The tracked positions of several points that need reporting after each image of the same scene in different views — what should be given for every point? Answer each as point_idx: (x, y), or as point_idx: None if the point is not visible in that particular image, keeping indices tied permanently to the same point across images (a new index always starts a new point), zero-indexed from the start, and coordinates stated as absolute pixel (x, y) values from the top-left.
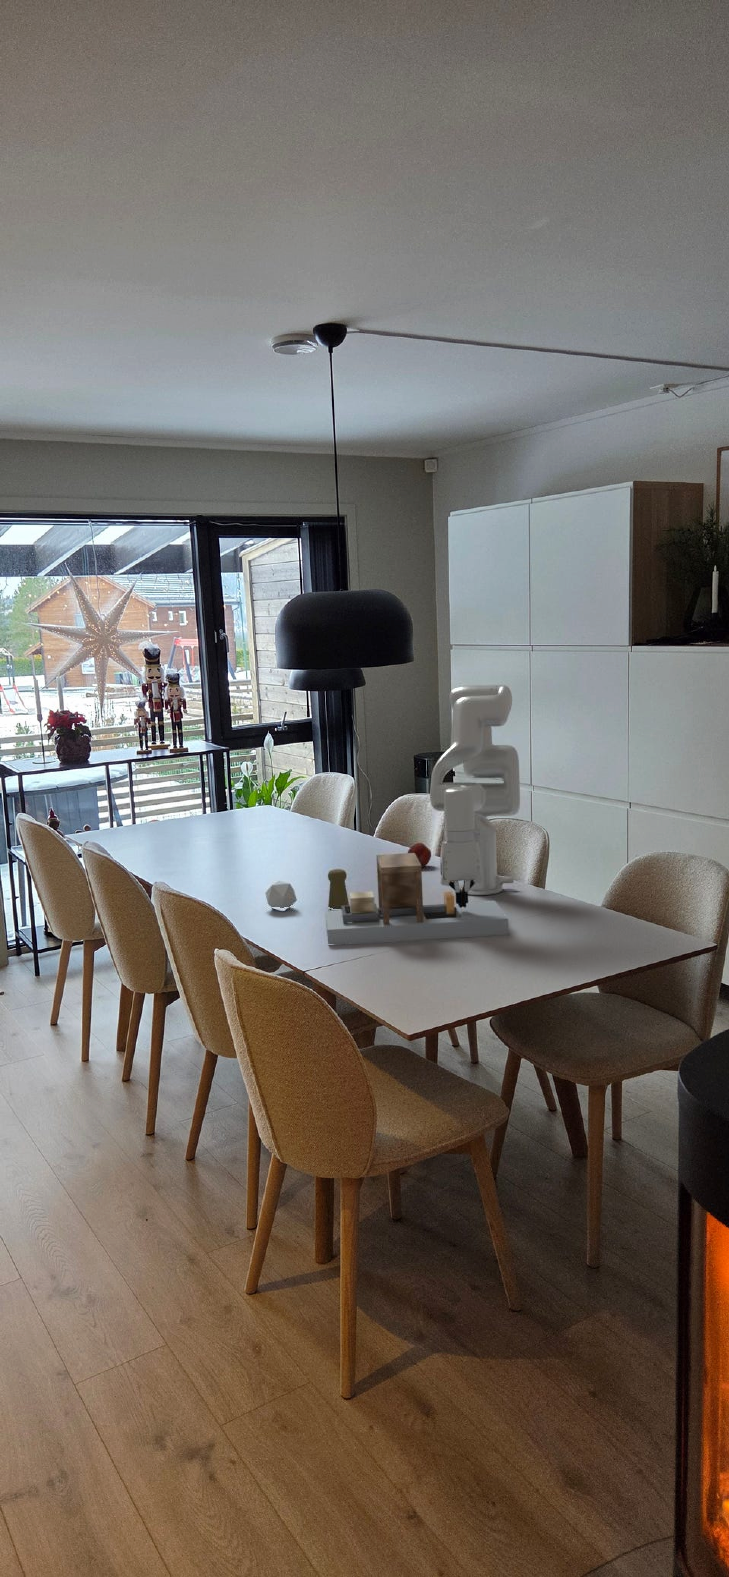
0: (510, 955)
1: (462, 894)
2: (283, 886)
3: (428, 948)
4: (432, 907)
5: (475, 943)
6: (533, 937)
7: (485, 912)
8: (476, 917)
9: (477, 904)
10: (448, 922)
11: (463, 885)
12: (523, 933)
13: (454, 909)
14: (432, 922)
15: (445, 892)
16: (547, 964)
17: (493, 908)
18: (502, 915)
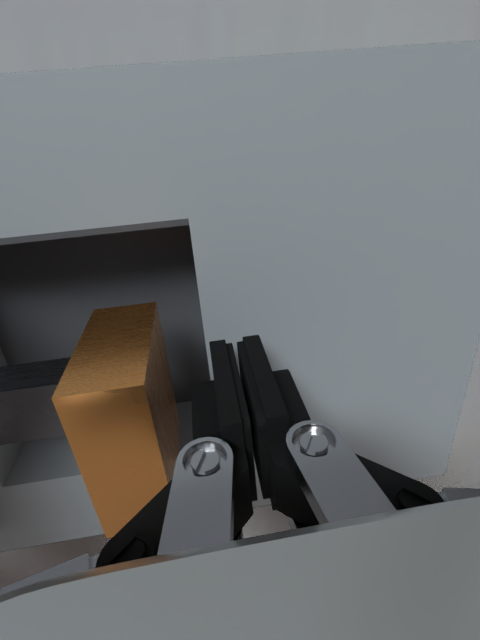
0: None
1: (258, 466)
2: None
3: (77, 556)
4: (3, 441)
5: (255, 508)
6: (473, 451)
7: (372, 375)
8: None
9: (376, 163)
10: None
11: (298, 483)
12: (462, 410)
13: (178, 439)
14: (55, 531)
15: (78, 412)
16: None
17: (449, 294)
18: (440, 430)
